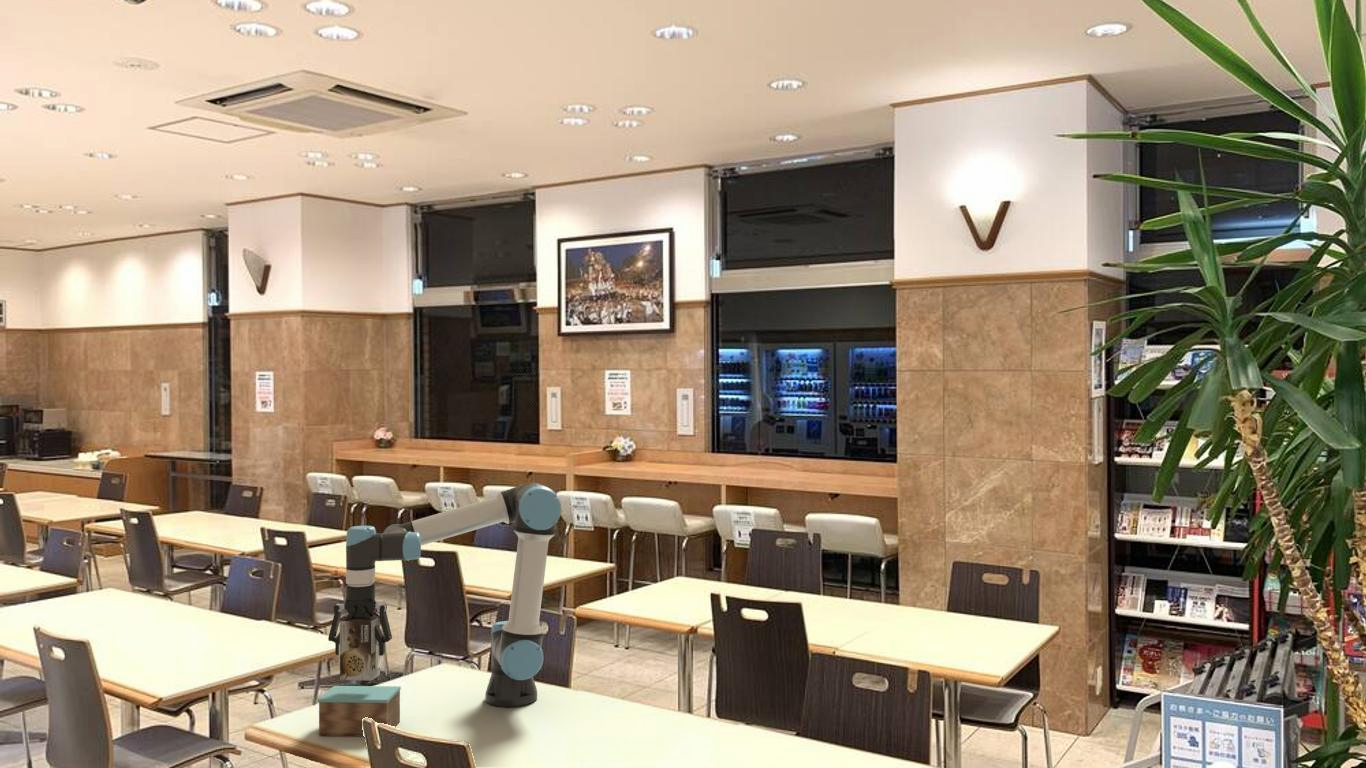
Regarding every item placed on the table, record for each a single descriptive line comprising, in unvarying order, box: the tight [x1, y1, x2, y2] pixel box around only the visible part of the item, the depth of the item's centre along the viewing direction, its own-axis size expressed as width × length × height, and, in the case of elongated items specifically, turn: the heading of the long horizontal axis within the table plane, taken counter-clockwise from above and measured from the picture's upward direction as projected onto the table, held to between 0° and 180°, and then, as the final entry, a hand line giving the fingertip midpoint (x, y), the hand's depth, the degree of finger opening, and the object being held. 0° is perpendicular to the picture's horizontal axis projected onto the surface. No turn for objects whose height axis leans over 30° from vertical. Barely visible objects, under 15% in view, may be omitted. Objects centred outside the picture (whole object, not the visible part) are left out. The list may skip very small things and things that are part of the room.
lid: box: [317, 685, 401, 703], centre depth 283 cm, size 18×12×1 cm
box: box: [318, 690, 401, 738], centre depth 283 cm, size 18×12×9 cm, turn 89°
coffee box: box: [339, 615, 381, 681], centre depth 283 cm, size 9×6×16 cm
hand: (360, 667), depth 283 cm, fingers closed on coffee box, 9 cm apart
